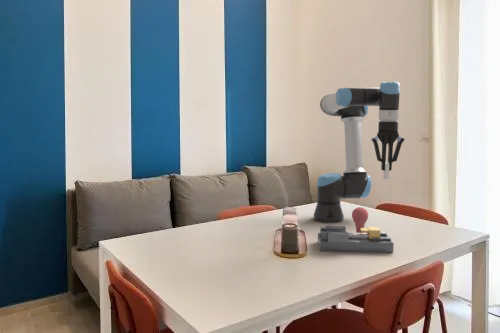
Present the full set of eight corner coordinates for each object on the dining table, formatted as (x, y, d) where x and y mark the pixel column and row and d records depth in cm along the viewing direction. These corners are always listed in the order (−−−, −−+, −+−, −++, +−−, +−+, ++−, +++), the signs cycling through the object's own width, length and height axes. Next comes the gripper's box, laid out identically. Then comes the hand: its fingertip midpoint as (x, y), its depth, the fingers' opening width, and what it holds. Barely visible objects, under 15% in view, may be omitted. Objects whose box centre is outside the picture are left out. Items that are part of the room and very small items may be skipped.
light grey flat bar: (324, 237, 167) (324, 235, 167) (323, 235, 170) (323, 233, 170) (368, 237, 166) (368, 235, 165) (367, 235, 169) (367, 232, 168)
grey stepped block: (320, 251, 163) (320, 234, 162) (317, 242, 175) (318, 225, 174) (393, 252, 161) (393, 235, 160) (385, 243, 173) (386, 226, 172)
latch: (362, 239, 165) (362, 230, 164) (359, 235, 170) (360, 226, 169) (379, 239, 164) (380, 230, 164) (377, 235, 169) (377, 227, 169)
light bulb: (349, 234, 186) (350, 208, 184) (353, 230, 192) (354, 205, 190) (365, 236, 182) (366, 209, 181) (369, 232, 189) (370, 206, 187)
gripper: (373, 121, 165) (371, 179, 168) (407, 121, 163) (404, 180, 167) (370, 120, 172) (368, 176, 176) (402, 120, 171) (399, 176, 174)
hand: (386, 178), depth 171 cm, fingers closed
